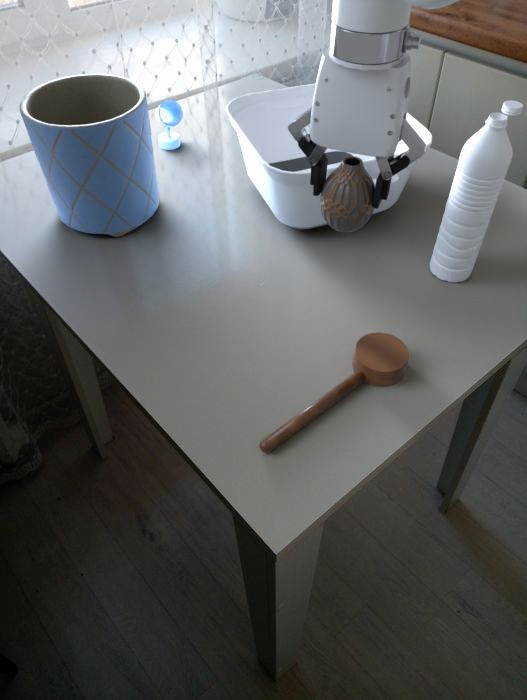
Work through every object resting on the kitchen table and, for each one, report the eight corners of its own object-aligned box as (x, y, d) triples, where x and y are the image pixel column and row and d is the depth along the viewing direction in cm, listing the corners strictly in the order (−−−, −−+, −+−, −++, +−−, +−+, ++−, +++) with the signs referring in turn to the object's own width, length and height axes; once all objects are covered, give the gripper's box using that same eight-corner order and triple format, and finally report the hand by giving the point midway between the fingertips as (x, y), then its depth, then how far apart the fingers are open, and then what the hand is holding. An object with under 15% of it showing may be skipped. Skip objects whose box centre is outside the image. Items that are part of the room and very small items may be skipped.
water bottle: (458, 289, 85) (512, 132, 66) (421, 271, 88) (462, 116, 69) (484, 262, 89) (541, 108, 71) (448, 245, 92) (494, 94, 74)
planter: (183, 195, 103) (169, 85, 88) (124, 253, 91) (96, 138, 76) (98, 173, 108) (72, 65, 93) (33, 225, 97) (-9, 112, 82)
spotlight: (188, 149, 114) (175, 135, 118) (183, 101, 107) (169, 87, 111) (166, 155, 113) (153, 141, 117) (159, 106, 105) (145, 93, 109)
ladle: (376, 339, 78) (379, 324, 76) (415, 368, 74) (419, 353, 72) (242, 434, 67) (241, 420, 65) (280, 473, 64) (281, 459, 62)
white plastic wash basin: (436, 234, 94) (458, 153, 83) (280, 271, 88) (282, 189, 77) (348, 143, 116) (356, 69, 105) (218, 167, 109) (212, 92, 99)
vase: (382, 222, 72) (393, 160, 65) (350, 246, 68) (358, 183, 62) (340, 202, 75) (347, 140, 68) (307, 224, 72) (311, 161, 65)
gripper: (460, 39, 56) (423, 195, 69) (297, 18, 60) (292, 168, 73) (449, 67, 51) (411, 228, 64) (273, 42, 55) (272, 198, 69)
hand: (348, 195), depth 69 cm, fingers closed on vase, 6 cm apart
